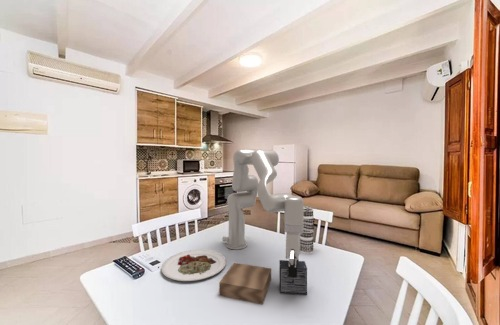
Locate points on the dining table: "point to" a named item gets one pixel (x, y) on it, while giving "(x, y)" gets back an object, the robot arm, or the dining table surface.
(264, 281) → the block
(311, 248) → the decorative candle
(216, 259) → the plated food
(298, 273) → the small box
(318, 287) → the dining table surface
